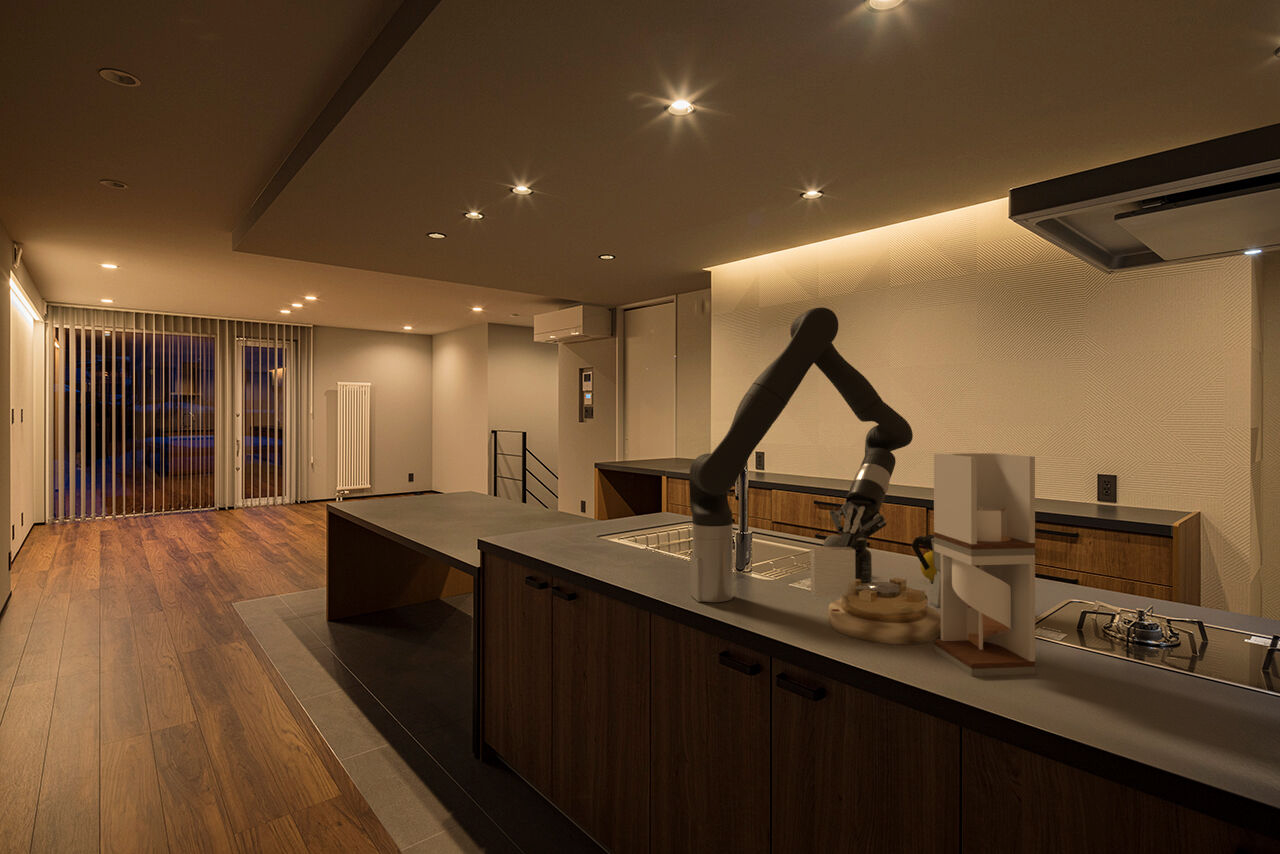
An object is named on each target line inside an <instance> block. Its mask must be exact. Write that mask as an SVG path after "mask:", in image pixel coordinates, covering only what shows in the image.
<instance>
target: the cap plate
mask: <svg viewBox="0 0 1280 854" xmlns="http://www.w3.org/2000/svg"><path fill="white" fill-rule="evenodd" d="M828 624H829V626H830V627H831V628H832V629H833V630H834V631H837V632H838V633H840V634H843V635H845V636H848V637H851V638H853V639H854V638H855V639H858V640H862V641H867V642H871V643H872V642H873V643H880V644H891V645H915V644H916V645H917V644H923V643H924V644H925V643H928V642H929V643H930V642H933V641H934V640H938V639H939V638H941V612H939V611H938V610H936V609H934V608H933V607H930V606H928V614H927V616H926V617H925V618H923V619H920V620H916V621H908V622H887V621H878V620H871V619H866V618H861V617H858V616H855V615H852V614H849V613H847V612H846V611H844V610H843V609H842V607H841V598H840V599H836V600H834V601H832V602H830V603H829V605H828Z"/></svg>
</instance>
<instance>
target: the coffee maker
mask: <svg viewBox="0 0 1280 854" xmlns="http://www.w3.org/2000/svg"><path fill="white" fill-rule="evenodd" d="M919 546H922V547H924V548H926V549H928V550H929V551H933V559H934V566H935V569H936V570H937V573H936V574H935V576H934V582H932V588H931V595H930V600H929V601H930V602H929V604H930V605H931V604H932V606H933V605H934V606H935V608H936V607H937V608H936V609H939V608H941V560H940V553H938V552H935V551H934V534H928V535H925V536H923V535H920V536H916V537H915V538H914V539H913V541H912V543H911V548H912V550H913V551H914V553H915V555H916V557H917V558H918V560H919V562H920V565H921V564H922V565H923V567H924V569H925V570H927V569H928V568H930V566H929V564H928V563H927V561H926V559H925V557H924V554H923V552H922V551H921V549H920V548H919ZM934 606H933V607H934Z"/></svg>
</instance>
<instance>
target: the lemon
mask: <svg viewBox="0 0 1280 854" xmlns="http://www.w3.org/2000/svg"><path fill="white" fill-rule="evenodd" d="M923 556H924V557H925V559H926V561H927V563H928V564H929V566H930V568H928V569H927V570H925V569H924V567H923V565H922V564H921V563H920V571H921V574H922V575H923V576H924V578H926V579H928V580H929V581H930V582H931V583H933V582H934V576H935V574H936V573H937V570H936V569H935V566H934V559H933V551H931V550H929V551H928V552H925V553H924V554H923Z"/></svg>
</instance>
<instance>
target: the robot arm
mask: <svg viewBox="0 0 1280 854" xmlns="http://www.w3.org/2000/svg"><path fill="white" fill-rule="evenodd" d="M790 325H791V326H790V330H789V331H790V336H791V337H790V338H791V339H790V340H789V342H788V344H787V346H786V347H785V348H784V349H783V351H782V352H781V353H780V354H779V355H778V356H777V357H776V358H774V360H772V362H771V363H770V364H769V365H768V366H767V367H766V368H765V369H764V370H763V371H762V372H761V373H760V375H758V376H757V378H756V379H755V380H754V382H752V384H751V386H750V387H749V389H748V390H747V391H746V393H745V394H744V395H743V397H742V399H741V400H740V402H739V404H738V406H737V409H736V410H735V414H734V417H733V419H732V422H731V425H730V427H729V429H728V431H727V433H726V435H725V436H723V439H722V440H721V441H720V442H719V444H718V445H717V447H716V448H715V449H714V450H713V451H712V452H711V453H703V454H701V455H699V456H697V457H696V458H695V459H694V460H693V461H692V463H691V465H690V468H689V476H688V478H689V480H688V489H689V491H688V492H689V506H690V512H691V517H692V518H691V519H692V554H690V556H689V574H690V575H689V581H690V582H689V586H690V588H689V589H690V590H689V593H690V597H692V598H693V599H694V600H695V601H696V602H701V603H702V602H705V603H724V602H729V601H731V600H733V598H734V587H733V586H734V571H733V570H734V565H733V563H734V558H733V557H734V555H733V550H734V548H733V547H734V546H733V545H734V544H733V541H734V540H733V538H734V537H733V533H734V531H733V529H734V528H733V512H732V509H731V507H730V503H729V500H728V499H729V498H728V496H729V495H728V492H729V491H730V490H732V488H733V486H734V485H735V484H736V482H737V480H738V479H739V476H740V475H741V473H742V471H743V469H744V468H745V466H746V463H747V462H748V460H749V458H750V457H751V455H752V453H753V452H754V450H755V449H756V447H757V446H758V444H760V442H762V440H763V438H764V437H765V436H766V434H767V433H768V432H769V430H770V428H771V427H772V426H773V424H774V423H775V422H776V421H777V419H778V418H779V417H780V416H781V413H782V412H783V410H784V409H785V408H786V406H787V405H788V404H789V402H790V400H791V399H792V397H793V395H794V393H795V392H796V391H797V390H798V388H799V386H800V385H801V383H802V381H803V380H804V378H805V376H806V374H807V373H808V372H809V370H810V369H811V367H812V366H813V365H815V366H816V367H817V368H818V369H819V370H820V371H821V372H822V374H823V375H824V376H825V377H826V378H827V379H828V380H829V382H830V383H831V384H832V385H833V386H834V387H835V389H836V390H837V391H838V393H839V394H840V395H841V397H842V398H843V399H844V401H845V402H846V404H847V405H848V407H849V408H850V409H851V411H852V413H854V415H855V416H856V418H857V419H858V420H859V421H860V422H862V423H864V422H865V423H866V422H874V423H876V424H877V425H875V426H873V427H872V428H870V430H869V431H868V432H867V434H866V437H865V440H864V457H863V459H862V462H861V464H860V467H859V469H858V471H857V472H856V473H855V475H854V479H853V481H852V483H851V485H850V489H849V490H848V492H847V495H846V498H845V502H844V503H843V504H842V505H841V507H840V509H838V510H836V511H835V510H834V509H831V510H830V511H829V515H830V518H831V519H832V523H833V524H834V526H835V528H836V530H837V532H838V534H839V536H841V539H840V542H839V546H840V547H852V548H853V549H854V546H855V544H856V541H857V540H858V539H859V538H864V539H868V538H870V537H871V536H873V535H874V534H875V533H876V532H878V531H880V530H882V529H883V528H884V527H886V526H887V525H888V524H887V521H886V518H885V517H884V515H883V514H880V510H881V507H882V505H883V503H884V501H885V500H884V499H885V498H886V494H887V492H888V490H889V486H890V481H891V479H892V478H891V477H892V476H893V473H894V469H895V468H896V467H895V465H896V464H897V463H896V456H895V455H894V453H893V451H897V450H900V449H901V448H905V447H907V446H909V445H910V444H911V442H912V440H913V437H914V436H913V430H912V427H911V425H910V424H909V422H908V421H907V419H905V418H904V417H903V416H902V415H900V414H899V412H897V411H896V410H894V409H893V407H891V406H890V405H889V404H888V403H886V402H885V401H884V400H883V399H882V397H881V396H880V395H879V393H878V392H877V391H876V389H875V388H874V386H873V385H872V383H871V382H870V381H869V379H867V378H866V377H865V376H864V375H863V374H862V373H861V372H860V371H859V370H858V369H857V368H855V367H854V366H853V365H852V364H850V363H849V361H847V360H846V359H845V358H844V357H843V356H842V354H840V352H839V351H838V350H837V348H836V347H835V346H834V344H833V342H834V340H835V339H836V337H837V335H838V331H839V319H838V317H837V315H836V313H835V312H834V311H833V310H831V309H829V308H827V307H824V306H823V307H822V306H821V307H813V308H811V309H808V310H807V311H805V312H803V313H801V314H800V315H798V316H797V317H795V319H794V320H793V322H792V323H791V324H790ZM842 516H843V517H842ZM843 518H844V525H843V526H842V523H841V521H842V519H843Z"/></svg>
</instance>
